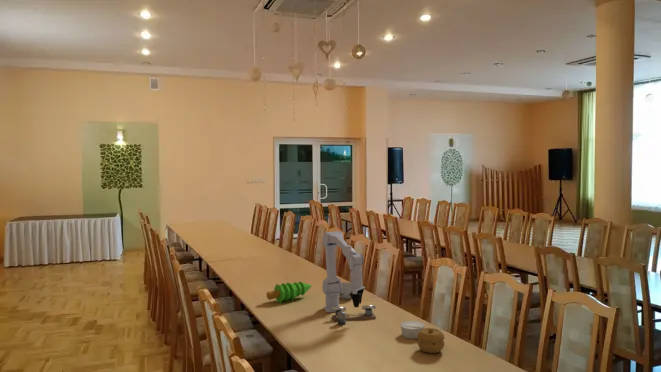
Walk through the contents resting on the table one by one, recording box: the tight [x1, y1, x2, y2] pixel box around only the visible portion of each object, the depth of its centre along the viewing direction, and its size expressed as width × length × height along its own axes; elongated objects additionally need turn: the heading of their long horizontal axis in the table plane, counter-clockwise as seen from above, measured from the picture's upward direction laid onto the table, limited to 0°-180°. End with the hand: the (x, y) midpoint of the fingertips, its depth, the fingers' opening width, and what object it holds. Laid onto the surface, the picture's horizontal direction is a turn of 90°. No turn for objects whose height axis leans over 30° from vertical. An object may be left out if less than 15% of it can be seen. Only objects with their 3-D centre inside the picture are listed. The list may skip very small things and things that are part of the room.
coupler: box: [336, 311, 347, 326], centre depth 246 cm, size 4×6×6 cm, turn 99°
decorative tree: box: [265, 281, 313, 304], centre depth 289 cm, size 11×12×30 cm
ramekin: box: [400, 320, 425, 340], centre depth 229 cm, size 11×11×5 cm
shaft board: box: [331, 311, 377, 322], centre depth 255 cm, size 7×22×1 cm, turn 99°
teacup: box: [339, 281, 353, 300], centre depth 292 cm, size 15×12×8 cm
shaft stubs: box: [332, 304, 376, 316], centre depth 255 cm, size 4×23×5 cm, turn 99°
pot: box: [416, 327, 446, 354], centre depth 210 cm, size 12×12×10 cm
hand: (357, 305), depth 245 cm, fingers open, 7 cm apart
